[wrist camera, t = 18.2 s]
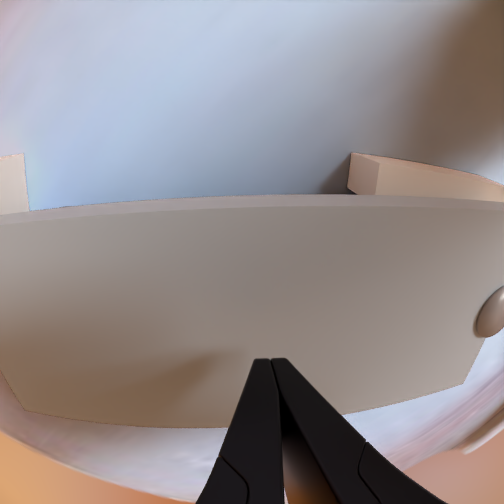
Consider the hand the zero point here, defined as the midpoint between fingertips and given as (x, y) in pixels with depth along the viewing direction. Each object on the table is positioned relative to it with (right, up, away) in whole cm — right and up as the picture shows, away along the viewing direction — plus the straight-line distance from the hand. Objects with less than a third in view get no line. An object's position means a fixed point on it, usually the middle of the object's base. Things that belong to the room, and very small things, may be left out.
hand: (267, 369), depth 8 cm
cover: (0, +1, +3) cm, 3 cm away
